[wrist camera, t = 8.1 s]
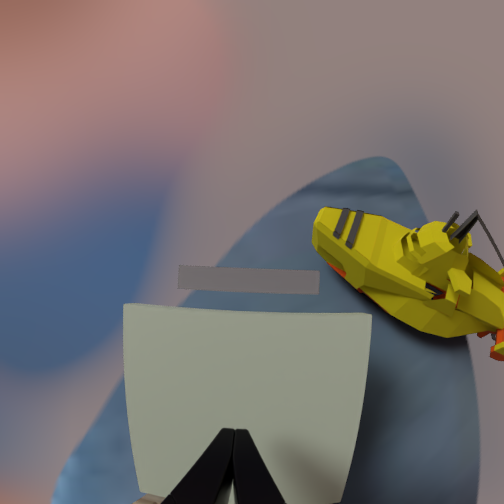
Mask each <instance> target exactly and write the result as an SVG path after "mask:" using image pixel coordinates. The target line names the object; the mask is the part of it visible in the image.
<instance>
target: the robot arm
mask: <svg viewBox="0 0 504 504" xmlns="http://www.w3.org/2000/svg"><path fill="white" fill-rule="evenodd" d="M232 483H233V492H234V502H235V504H287V503H285V500H284V498H283V496H282V494H281V493H280V491H279V489H278V487H277V485H276V484H275V482H274V480H273V478H272V476H271V474H270V472H269V470H268V469H267V467H266V465H265V463H264V461H263V459H262V457H261V455H260V453H259V451H258V449H257V447H256V445H255V443H254V441H253V439H252V437H251V435H250V433H249V431H248V430H247V429H238V428H237V429H233V428H222V429H221V430H220V431H219V433H218V434H217V435H216V437H215V438H214V439H213V441H212V442H211V443H210V444H209V446H208V447H207V448H206V450H205V451H204V452H203V453H202V455H201V456H200V457H199V459H198V460H197V461H196V462H195V464H194V465H193V466H192V467H191V468H190V470H189V471H188V472H187V473H186V475H185V476H184V477H183V478H182V479H181V481H180V482H179V483H178V484H177V485H176V486H175V488H174V489H173V490H172V491H171V492H170V494H168V496H167V497H166V498H165V499H164V500H163V501H162V502H161V503H160V504H228V502H229V498H230V493H231V489H232Z"/></svg>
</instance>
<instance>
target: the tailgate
mask: <svg viewBox="0 0 504 504" xmlns="http://www.w3.org/2000/svg"><path fill="white" fill-rule="evenodd" d="M319 272H320V271H310V270H279V269H252V268H228V267H205V266H184V265H179V275H178V288H179V289H194V290H211V291H230V292H252V293H281V294H319ZM123 309H124V310H123V347H124V349H123V350H124V376H125V391H126V403H127V414H128V423H129V431H130V438H131V445H132V452H133V458H134V463H135V469H136V474H137V479H138V484H139V489H140V491H141V492H144V493H148V494H152V495H157V496H161V497H167V496H168V494H170V492H171V491H172V490H173V489H174V488H175V486H176V485H177V484H178V483H179V482H180V481H181V479H182V478H183V477H184V476H185V475H186V473H187V472H188V471H189V470H190V468H191V467H192V466H193V465H194V464H195V462H196V461H197V460H198V459H199V457H200V456H201V455H202V453H203V452H204V451H205V450H206V448H207V447H208V446H209V444H210V443H211V442H212V441H213V439H214V438H215V437H216V435H217V434H218V433H219V431H220V430H221V429H222V428H233V429H237V428H238V429H247V430H248V431H249V433H250V435H251V437H252V439H253V441H254V443H255V445H256V447H257V449H258V451H259V453H260V455H261V457H262V459H263V461H264V463H265V465H266V467H267V469H268V470H269V472H270V474H271V476H272V478H273V480H274V482H275V484H276V485H277V487H278V489H279V491H280V493H281V494H282V496H283V498H284V500H285V503H287V504H332V503H339V502H340V501H341V498H342V495H343V491H344V488H345V484H346V481H347V477H348V473H349V469H350V465H351V461H352V457H353V453H354V448H355V443H356V439H357V434H358V429H359V423H360V418H361V412H362V406H363V399H364V393H365V385H366V378H367V369H368V360H369V350H370V338H371V324H372V315H370V314H365V313H278V312H249V311H228V310H211V309H196V308H183V307H170V306H159V305H148V304H139V303H130V304H124V308H123ZM228 504H235V502H234V492H233V483H232V489H231V493H230V498H229V502H228Z"/></svg>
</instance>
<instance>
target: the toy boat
mask: <svg viewBox="0 0 504 504" xmlns="http://www.w3.org/2000/svg"><path fill="white" fill-rule="evenodd" d="M363 212H364V211H360V210H357V211H351V210H350V209H348V208H343V209H339V208H332V207H325V208H323V209H321V210H320V211H319V213H318V215H317V217H316V219H315V222H314V225H313V235H312V244H313V246H314V247H315V249H316V251H317V252H318V253H319V254H320V256H321V257H322V258H323V259H324V260H325V261H326V262H327V263H328V264H329V265H330V266H331V267H332V268H333V269H334V270H335V271H336V272H338V273H339V274H340V275H341V276H342V277H343V278H344V279H345V280H346V281H347V282H349V283H350V284H351V285H352V286H353V287H354V288H355V289H356V290H357V291H358V292H360V293H365V294H366V295H367V296H368V297H369V298H370V299H371V300H373V301H374V302H375V303H376V304H377V305H378V306H380V307H381V308H382V309H383V310H384V311H385V312H387V313H388V314H390V315H392V316H394V317H396V318H397V319H399V320H401V321H403V322H405V323H407V324H408V325H410V326H412V327H414V328H416V329H418V330H419V331H422V332H426V333H430V334H434V335H438V336H442V337H446V338H450V337H456V336H462V335H467V334H472V333H477V336H478V337H479V338H482V337H484V336H486V335H487V334H489V333H492V334H491V336H492V339H493V340H495V341H496V343H495V345H494V346H492V347H491V353H490V357H491V358H493V359H495V360H498V361H504V268H503V269H501V270H500V271H499V272H496V271H495V270H494V269H493V268H491V267H490V266H489V265H488V264H486V263H485V262H484V261H483V260H481V259H480V258H478V257H476V256H475V255H473V254H472V253H468V248H470V247H471V246H472V241H471V234H470V233H468V232H469V231H470V230H471V228H472V227H473V226H474V224H475V223H476V222H477V220H479V222H480V224H481V225H482V227H483V229H484V231H485V232H486V234H487V236H488V237H489V239H490V241H491V243H492V245H493V246H494V248H495V250H496V252H497V254H498V256H499V258H500V260H501V262H502V264H503V266H504V260H503V258H502V256H501V254H500V252H499V250H498V248H497V246H496V244H495V243H494V240H493V238H492V237H491V235H490V233H489V231H488V229H487V228H486V226H485V224H484V222H483V221H482V219H481V218H480V216H479V214H478V211H477V210H476V211H475V212H474V213H473V214H472V215H471V216H470V217H469V218H468V219H467V220H466V221H465V222H464V223H463V224H462V225H461V226H459V225H458V224H456V223H454V222H455V220H456V219H457V218H458V216H459V213H458V212H457V211H455V213H454V214H453V216H452V217H451V218H450V220H449V221H448V222H447V223H444V222H439V221H434V222H432V223H429V224H426V225H423V226H422V228H415V229H413V230H410V229H408V228H405V227H403V226H401V225H399V224H397V223H394V222H392V221H390V220H388V219H386V218H384V217H383V216H380V215H374V214H368V213H363ZM415 230H419V232H418V233H416V232H414V231H415ZM463 250H464V251H463ZM462 252H463V253H462ZM426 283H427V284H429V285H431V286H433V287H435V288H436V289H438V290H440V291H442V292H443V293H445V294H441V295H438V296H434V295H433V294H431V293H429V292H432V293H435V292H433V291H431V290H429V289H427V288H426V287H425V284H426ZM427 291H429V292H427ZM435 294H436V293H435ZM433 296H434V297H433ZM432 297H433V300H431V298H432ZM495 335H496V338H495Z"/></svg>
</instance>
